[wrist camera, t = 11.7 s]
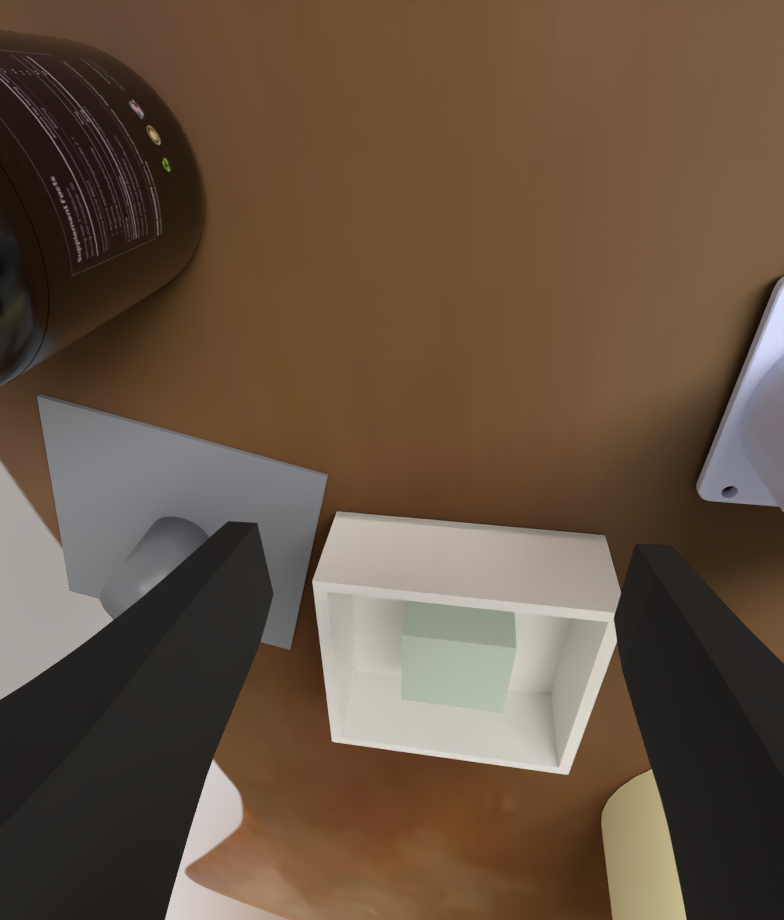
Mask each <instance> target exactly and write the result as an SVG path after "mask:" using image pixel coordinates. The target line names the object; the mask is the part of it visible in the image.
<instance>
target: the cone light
mask: <svg viewBox="0 0 784 920" xmlns="http://www.w3.org/2000/svg"><path fill="white" fill-rule="evenodd" d="M601 827H602V836H603V844H604V852H605V860H606V869H607V877H608V885H609V894H610V902H611V910H612V919H613V920H687V919H686V913H685V908H684V903H683V897H682V892H681V887H680V882H679V877H678V873H677V868H676V863H675V858H674V853H673V848H672V843H671V838H670V834H669V829H668V825H667V821H666V817H665V813H664V809H663V806H662V802H661V798H660V794H659V791H658V788H657V785H656V781H655V778H654V775H653V771H652V769H651V770H649V771H647V772H645V773H643V774H640V775H638V776H636V777H634V778H633V779H631V780H630V781H629V782H627V783H626V784H624V785H623V786H621V787H620V788H619V789H618V790H617V791H616V792H615V793H614V794H613V795H612V796H611V797H610V798H609V799H608V801H607V803H606V805H605V807H604V809H603V811H602V819H601Z"/></svg>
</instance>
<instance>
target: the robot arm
mask: <svg viewBox="0 0 784 920" xmlns="http://www.w3.org/2000/svg"><path fill="white" fill-rule="evenodd" d="M728 486H733V487H732V488H731V489H730V490H728V491H722V490H723V489H724V488H726V487H728ZM696 489H697V492H698V493H699V495H700V497H701V498H702V499H704V500H707V501H715V502H727V503H739V504H752V505H764V506H777V507H780V508H781V510H782V511H783V512H784V276H783V277H782V278H781V279H780V280H779V281H778V282H777V284H776V285H775V287H774V289H773V291H772V294H771V296H770V299H769V301H768V304H767V306H766V309H765V311H764V314H763V317H762V319H761V322H760V324H759V327H758V329H757V332H756V334H755V337H754V339H753V342H752V344H751V347H750V350H749V352H748V355H747V357H746V360H745V362H744V365H743V367H742V370H741V372H740V375H739V377H738V380H737V383H736V385H735V388H734V390H733V393H732V395H731V398H730V400H729V403H728V405H727V408H726V410H725V413H724V416H723V418H722V421H721V423H720V426H719V428H718V431H717V433H716V436H715V438H714V441H713V443H712V446H711V448H710V451H709V454H708V456H707V459H706V461H705V464H704V466H703V469H702V471H701V474H700V476H699V479H698V481H697V484H696ZM273 594H274V593H273V589H272V585H271V580H270V576H269V571H268V567H267V563H266V558H265V554H264V549H263V545H262V541H261V536H260V532H259V527H258V523H253V522H235V521H228V522H227V523H226V524H224V525H223V526H222V527H221V528H220V529H219V530H217V531H216V532H215V533H214V534H213V535H212V536H211V537H210V538H209V539H207V540H206V541H205V542H204V543H203V544H202V545H201V546H200V547H199V548H197V549H196V550H195V551H194V552H193V553H192V554H191V555H190V556H189V557H187V558H186V559H185V560H184V561H183V562H182V563H181V564H180V565H178V566H177V567H176V568H175V569H174V570H173V571H172V572H171V573H169V574H168V575H167V576H166V577H165V578H164V579H163V580H161V581H160V582H159V583H158V584H157V585H156V586H154V587H153V588H152V589H151V590H150V591H149V592H148V593H146V594H145V595H144V596H143V597H142V598H140V599H139V600H138V601H137V602H135V603H134V604H133V605H132V606H130V607H129V608H128V609H127V610H125V611H124V612H123V613H122V614H120V615H119V616H118V617H117V618H116V619H114V620H113V621H112V622H111V623H109V624H108V625H107V626H106V627H104V628H103V629H102V630H101V631H99V632H98V633H97V634H96V635H94V636H93V637H92V638H90V639H89V640H88V641H87V642H85V643H84V644H82V645H81V646H80V647H78V648H77V649H75V650H74V651H73V652H71V653H70V654H69V655H67V656H66V657H64V658H63V659H61V660H60V661H59V662H57V663H56V664H54V665H53V666H51V667H50V668H48V669H47V670H46V671H44V672H43V673H41V674H40V675H38V676H37V677H35V678H34V679H33V680H31V681H30V682H28V683H26V684H25V685H23V686H22V687H20V688H19V689H17V690H15V691H14V692H12V693H11V694H9V695H7V696H6V697H4V698H3V699H1V700H0V920H165V916H166V913H167V909H168V905H169V901H170V897H171V894H172V890H173V887H174V883H175V880H176V876H177V872H178V869H179V866H180V862H181V859H182V855H183V852H184V848H185V845H186V841H187V838H188V835H189V831H190V827H191V824H192V821H193V818H194V815H195V812H196V808H197V805H198V802H199V799H200V796H201V792H202V789H203V786H204V782H205V779H206V776H207V773H208V771H209V768H210V765H211V762H212V760H213V757H214V754H215V752H216V749H217V747H218V744H219V742H220V739H221V737H222V735H223V732H224V730H225V727H226V725H227V722H228V720H229V718H230V715H231V713H232V710H233V708H234V706H235V703H236V701H237V698H238V696H239V694H240V691H241V689H242V686H243V684H244V682H245V679H246V677H247V674H248V672H249V669H250V667H251V664H252V662H253V659H254V657H255V654H256V652H257V649H258V647H259V644H260V642H261V639H262V635H263V632H264V628H265V625H266V621H267V618H268V614H269V610H270V606H271V602H272V598H273ZM614 624H615V630H616V637H617V643H618V649H619V654H620V660H621V665H622V671H623V674H624V678H625V681H626V685H627V688H628V692H629V695H630V698H631V702H632V705H633V709H634V712H635V715H636V719H637V722H638V725H639V728H640V732H641V735H642V738H643V742H644V745H645V748H646V752H647V755H648V758H649V761H650V765H651V768H652V771H653V775H654V778H655V781H656V785H657V788H658V791H659V794H660V798H661V802H662V806H663V809H664V813H665V817H666V821H667V825H668V829H669V834H670V838H671V843H672V848H673V853H674V858H675V863H676V868H677V873H678V877H679V882H680V887H681V892H682V897H683V903H684V908H685V913H686V919H687V920H784V664H783V663H782V662H781V661H780V660H779V659H778V658H777V657H776V656H775V655H774V654H773V653H772V652H771V651H770V650H769V649H768V648H767V647H766V646H765V645H764V644H763V643H762V642H761V641H760V640H759V639H758V638H757V637H756V636H755V635H754V634H753V633H752V632H751V631H750V630H749V629H748V628H747V627H746V626H745V625H744V623H743V622H742V621H741V620H740V619H739V618H738V617H737V616H736V615H735V614H734V613H733V612H732V611H731V610H730V609H729V608H728V607H727V606H726V605H725V604H724V602H723V601H722V600H721V599H720V598H719V597H718V596H717V595H716V594H715V593H714V592H713V591H712V590H711V588H710V587H709V586H708V585H707V584H706V583H705V582H704V581H703V580H702V579H701V578H700V576H699V575H698V574H697V573H696V572H695V571H694V570H693V569H692V568H691V567H690V566H689V564H688V563H687V562H686V561H685V560H684V559H683V558H682V557H681V556H680V555H679V554H678V553H677V552H676V550H675V549H674V548H673V547H672V546H668V545H650V544H636V545H635V548H634V551H633V555H632V558H631V562H630V565H629V568H628V572H627V575H626V578H625V582H624V585H623V588H622V592H621V595H620V598H619V602H618V605H617V609H616V612H615V615H614Z"/></svg>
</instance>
